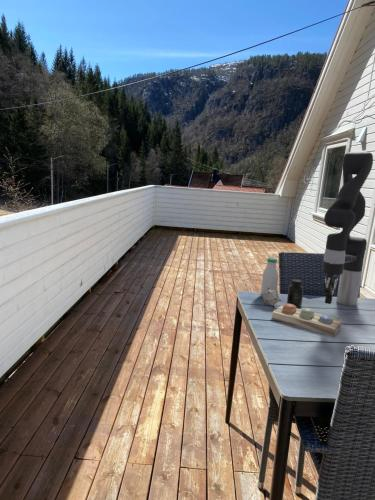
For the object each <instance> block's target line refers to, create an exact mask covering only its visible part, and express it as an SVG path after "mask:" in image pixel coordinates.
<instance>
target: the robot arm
mask: <svg viewBox="0 0 375 500" xmlns="http://www.w3.org/2000/svg"><path fill="white" fill-rule="evenodd" d="M373 164H374V155H373V153H372V152H369V151H352V152H351V151H349V152H346V153H345V154H344V156H343V159H342V182H343V185H341V188H340V189H339V191H338V193H337V196H336V199H335V200H334V202H333V204H332V205H331V206H330V207H329V208H328V209H327V211H326V213H325V214H324V218H323V221H324V222H323V223H324V224H325V225H326V226H327V227H329V228H339V229H342V230H341V231H340V232H335V233H329V234H328V235H327V237H326V243H325V251H324V254H323V259H322V260H323V261H322V268H321V270H322V272H323V273H326V276H325V278H324V283H323V293H324V294H325V298H324V299H325V300H324V303H325V304H328V305H330V304H332V302H333V295H334V293H335V291H336V287H337V286H338V289H337V294H336V302H337V303H338V304H341V305H344V306H350V307H355V306H357V305H358V298H359V291H360V287H361V286H360V285H361V279H362V272H363V266H364V259H365V254H366V250H367V246H368V245H367V244H368V242H367V239H366V238H364V237H357V236H351V232H352V231H353V229H354V228H355V227H356V226H357V225H358V224H359V223H360V222H361V221H362V219H363V218H364V216H365V215H366V199H365V197H364V195H363V194H362V192H361V189H362V188H363V186H364V184H365V183H366V181H367V178H368V177H369V175H370V173H371V171H372V168H373ZM353 175H355V176H354V177H353ZM346 256H351V257H356V258H355V259H353V260H349V261H345V260H346ZM338 275H339V277H338ZM338 281H339V282H338ZM337 284H338V285H337Z"/></svg>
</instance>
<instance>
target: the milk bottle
mask: <svg viewBox="0 0 375 500" xmlns="http://www.w3.org/2000/svg"><path fill="white" fill-rule="evenodd" d="M277 261H278V259H277V258H276V257H268V258H267V262H266V263H267V265H266V266H265V268H264V270H263V272H262V280H261V286H260V287H261V288H260V294H262V295H263V294H264V293H265V292H266V291H267V290H269V289H270V290H273V291H277V290H278V283H279V282H278V281H279V271H278V269H277V263H278V262H277ZM268 288H269V289H268ZM262 295H260V297H262V298H263V296H262Z"/></svg>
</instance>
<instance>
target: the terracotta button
mask: <svg viewBox="0 0 375 500" xmlns="http://www.w3.org/2000/svg"><path fill="white" fill-rule="evenodd" d="M283 305H284V306H283V309H282V312H286V313H290V314H294V313H295V312H296V308H297V307H295V305H293V304H287V303H284V304H283Z"/></svg>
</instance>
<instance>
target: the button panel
mask: <svg viewBox="0 0 375 500" xmlns="http://www.w3.org/2000/svg"><path fill="white" fill-rule="evenodd" d="M283 306H284V304H282V305H281V306H279V307H277V308H276V309H274V310H273V311H272V313H271V319H272V320H275V321H278V322H283V323H284V324H285V323H286V324H289V325H293V326H296V327H300V328H303V329H307V330H310V331H314V332H318V333H321V334H325V335H328V336H331V337H335V336H336V334H337V333H338V332H339V330H340V329H341V328H342V323H343V320H342V319H341V318H336V317H332V316H331V317H332V319H333V322H332V323H331V324H327V323H323V322H320V321H318V320H319V318H320V316H321V315H322V314H320V313H316V312H314V317H313V318H312V319H308V318H305V317H301V316H300V311H301V310H302V308H298V307H296V312H295V313H294V314H290V313H286V312H282V309H283Z"/></svg>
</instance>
